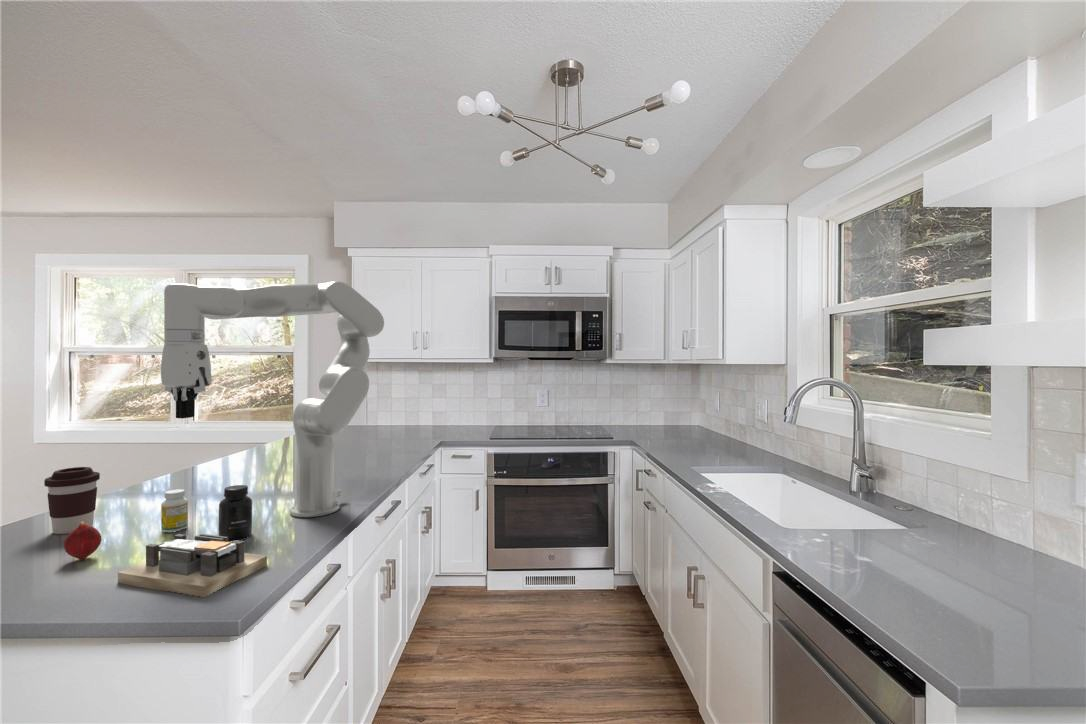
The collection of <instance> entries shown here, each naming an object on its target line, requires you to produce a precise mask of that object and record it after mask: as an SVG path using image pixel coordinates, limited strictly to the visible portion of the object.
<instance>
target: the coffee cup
mask: <svg viewBox="0 0 1086 724" xmlns="http://www.w3.org/2000/svg"><path fill="white" fill-rule="evenodd" d="M100 477H101V473H100V472H98V471H94V470H93V468H92V467H90V466H75V467H68V468H63V469H57V470H55V471H54V472H53V473H52V475H51V476H49V477H46V478H45V479H44V480H43V481H44V487H47V489H48V490H47V491H48V492H47V503H48V504H47V505H48V512H49V513H48V514H49V517H50V519H51V520H50V521H51V528H52V529H51V530H52V533H53V534H55V535H69V534H70V533H71V532H72V531H73V530H75V529H76V528H78V527H79V525H80V523H81V522H82V521H83V522H86V524H87V525H88V526H92V527H94V516H95V515H94V514H95V510H96V507H97V505H96V504H97V496H98V494H97V492H98V487H97V482H98V481H99V480H100Z"/></svg>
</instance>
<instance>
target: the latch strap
mask: <svg viewBox="0 0 1086 724" xmlns="http://www.w3.org/2000/svg"><path fill="white" fill-rule="evenodd" d="M158 545H159V552H160V549H162V548H165V547H167V546H171V547H178V548H185V549H192V550H196V555H201V554H203V553H205V552H211V553H216V557H219V556H221V555H223V554H225V553H228V552H230V551H232V550H235V549H236V544H233V543H231V542H221V541H209V542H208V541H195V539H186V540H183V539H174V538H173V539H170V540H168V541H165V542H163V543H159V544H158Z"/></svg>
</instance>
